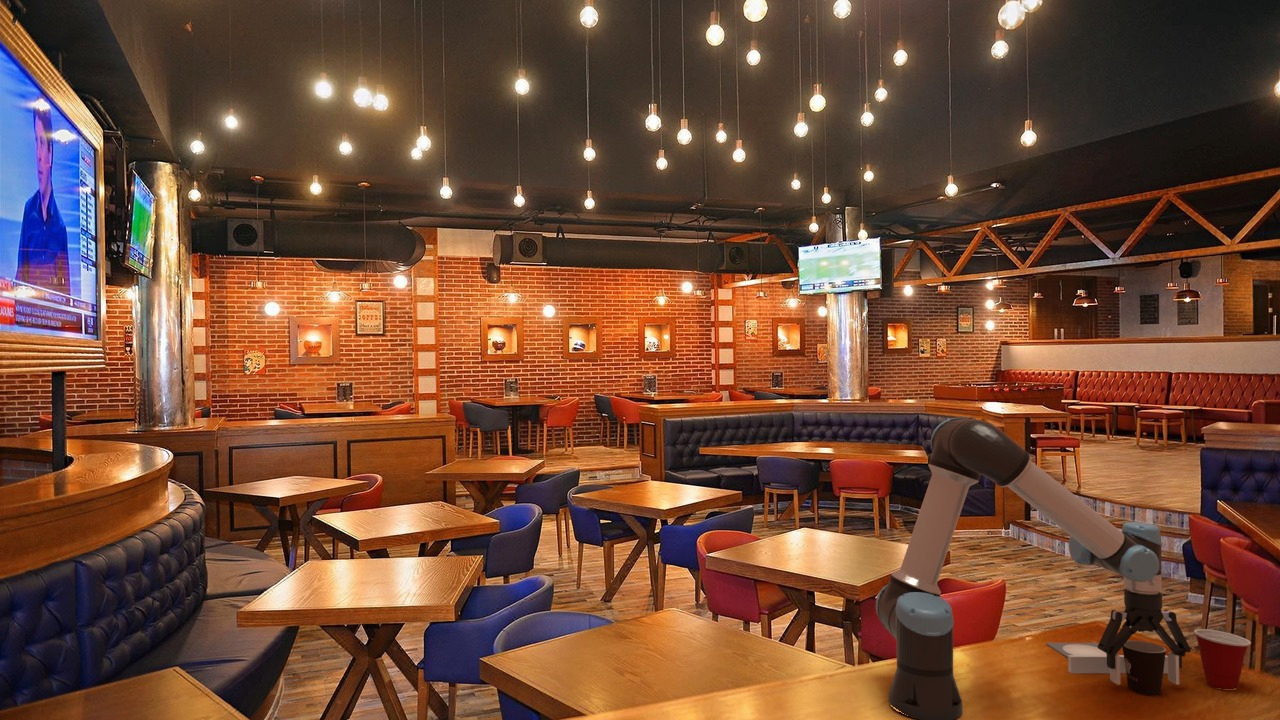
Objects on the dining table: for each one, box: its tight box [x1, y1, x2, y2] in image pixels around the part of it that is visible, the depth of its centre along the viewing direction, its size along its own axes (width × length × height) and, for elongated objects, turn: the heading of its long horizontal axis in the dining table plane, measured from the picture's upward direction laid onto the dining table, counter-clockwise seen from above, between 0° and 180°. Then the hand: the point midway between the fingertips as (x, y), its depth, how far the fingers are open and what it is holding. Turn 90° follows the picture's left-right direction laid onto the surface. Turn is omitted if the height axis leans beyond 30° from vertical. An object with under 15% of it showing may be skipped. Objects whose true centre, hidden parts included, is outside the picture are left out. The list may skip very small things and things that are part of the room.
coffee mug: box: [1121, 640, 1167, 697], centre depth 185 cm, size 12×9×10 cm
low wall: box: [1067, 654, 1168, 674], centre depth 195 cm, size 24×1×4 cm, turn 90°
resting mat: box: [1045, 642, 1119, 659], centre depth 209 cm, size 14×14×1 cm
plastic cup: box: [1193, 628, 1252, 689], centre depth 186 cm, size 11×11×12 cm
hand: (1144, 682), depth 185 cm, fingers open, 13 cm apart
